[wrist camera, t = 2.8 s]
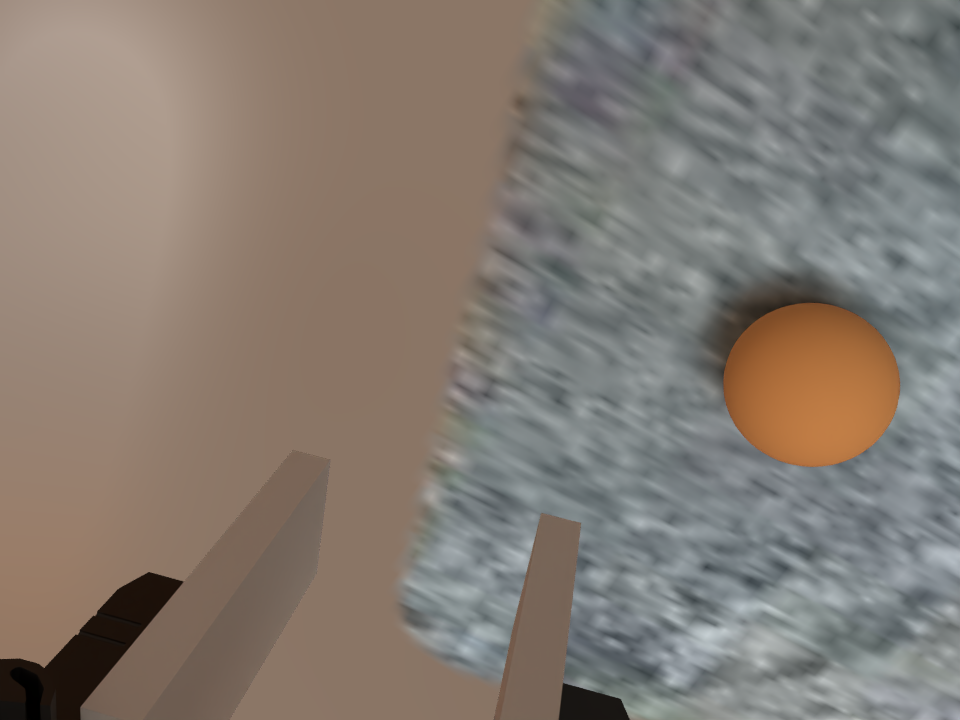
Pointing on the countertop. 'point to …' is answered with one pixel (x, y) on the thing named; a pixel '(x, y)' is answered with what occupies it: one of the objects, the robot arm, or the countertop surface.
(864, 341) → the ball
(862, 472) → the countertop surface
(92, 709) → the robot arm
